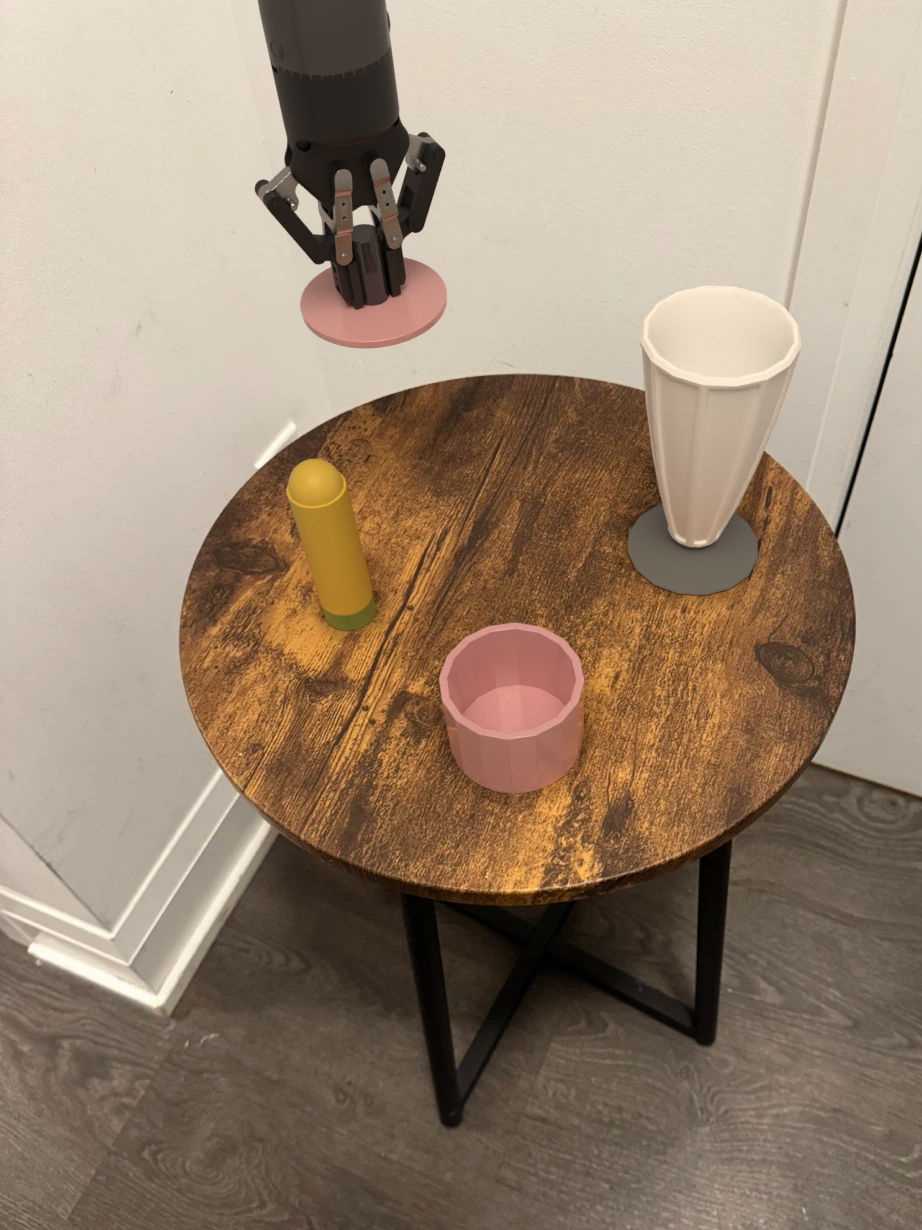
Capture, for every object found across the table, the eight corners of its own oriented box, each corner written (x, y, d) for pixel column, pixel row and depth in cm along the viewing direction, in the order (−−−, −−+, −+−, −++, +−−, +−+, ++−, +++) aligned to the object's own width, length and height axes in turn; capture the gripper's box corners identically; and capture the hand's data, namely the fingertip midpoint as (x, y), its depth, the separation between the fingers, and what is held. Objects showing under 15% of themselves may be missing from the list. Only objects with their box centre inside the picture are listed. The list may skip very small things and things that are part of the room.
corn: (325, 634, 86) (280, 490, 73) (323, 595, 89) (279, 449, 75) (378, 627, 86) (342, 482, 73) (374, 588, 89) (339, 441, 76)
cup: (785, 564, 89) (837, 348, 71) (672, 615, 86) (696, 404, 68) (710, 484, 95) (741, 265, 77) (602, 529, 92) (608, 313, 74)
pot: (458, 803, 77) (447, 748, 70) (443, 693, 82) (433, 633, 76) (593, 782, 77) (595, 726, 71) (570, 675, 83) (569, 614, 77)
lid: (305, 364, 75) (286, 286, 70) (301, 277, 81) (283, 200, 76) (455, 346, 76) (447, 267, 71) (440, 262, 82) (431, 184, 77)
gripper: (406, -8, 67) (434, 245, 81) (200, 44, 63) (268, 299, 78) (457, 36, 63) (478, 293, 78) (242, 94, 60) (305, 352, 74)
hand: (372, 295), depth 78 cm, fingers closed on lid, 2 cm apart
